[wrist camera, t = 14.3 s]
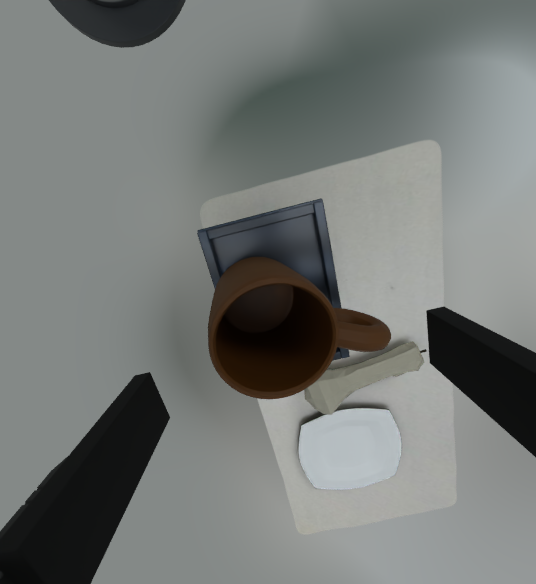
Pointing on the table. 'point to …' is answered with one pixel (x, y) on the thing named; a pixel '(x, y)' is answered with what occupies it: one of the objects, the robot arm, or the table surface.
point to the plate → (350, 448)
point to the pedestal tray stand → (278, 246)
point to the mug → (280, 329)
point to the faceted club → (361, 376)
